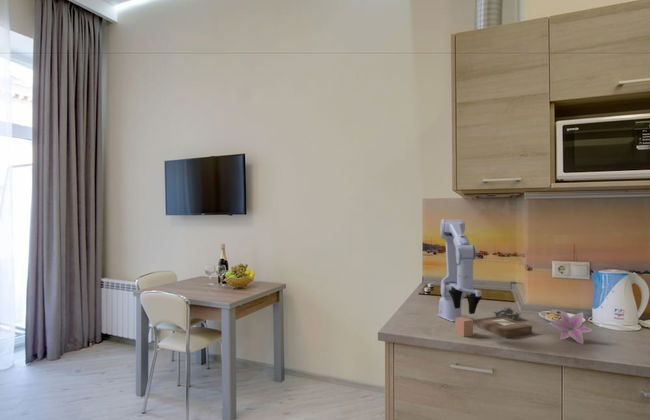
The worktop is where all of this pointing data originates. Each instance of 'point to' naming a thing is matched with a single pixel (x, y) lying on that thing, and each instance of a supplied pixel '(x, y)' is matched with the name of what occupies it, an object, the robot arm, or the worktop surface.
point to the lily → (571, 326)
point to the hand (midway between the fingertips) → (464, 310)
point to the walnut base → (504, 326)
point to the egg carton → (507, 313)
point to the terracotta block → (464, 326)
